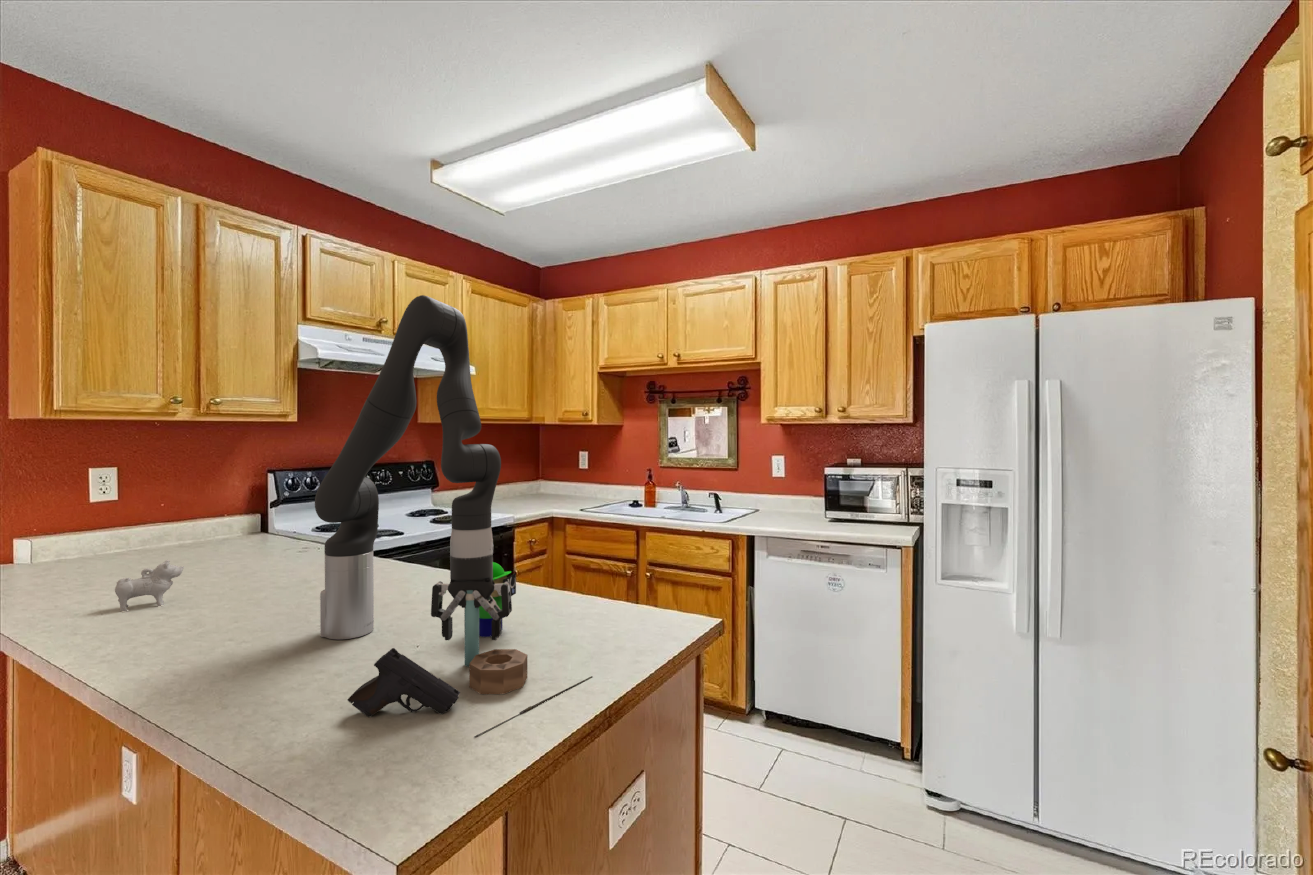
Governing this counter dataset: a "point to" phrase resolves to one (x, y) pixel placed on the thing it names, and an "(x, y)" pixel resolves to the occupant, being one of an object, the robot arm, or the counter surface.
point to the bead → (498, 671)
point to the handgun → (403, 687)
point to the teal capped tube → (471, 628)
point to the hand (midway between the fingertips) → (471, 638)
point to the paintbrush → (537, 704)
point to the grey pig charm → (148, 584)
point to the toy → (484, 616)
